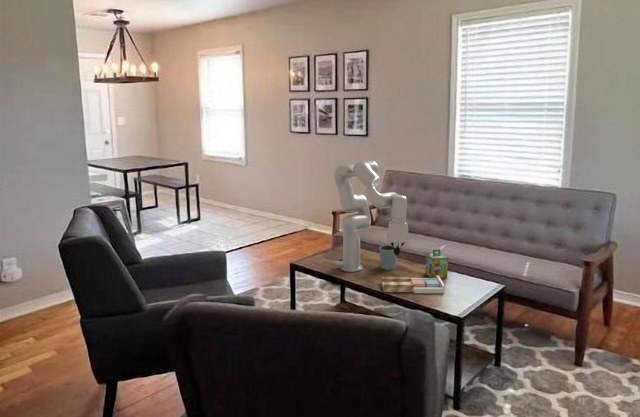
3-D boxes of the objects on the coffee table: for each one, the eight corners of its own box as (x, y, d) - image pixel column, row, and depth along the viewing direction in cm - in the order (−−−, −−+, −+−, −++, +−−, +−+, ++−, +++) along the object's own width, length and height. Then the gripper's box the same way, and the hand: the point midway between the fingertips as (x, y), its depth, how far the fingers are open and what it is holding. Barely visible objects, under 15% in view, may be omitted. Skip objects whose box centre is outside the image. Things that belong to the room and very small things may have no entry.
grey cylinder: (397, 270, 286) (398, 250, 283) (379, 270, 286) (380, 250, 284) (395, 264, 296) (395, 245, 293) (378, 264, 296) (378, 245, 293)
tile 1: (412, 290, 256) (413, 283, 256) (411, 286, 262) (411, 279, 262) (424, 290, 256) (424, 283, 255) (422, 286, 262) (423, 279, 261)
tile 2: (426, 290, 256) (427, 283, 255) (424, 286, 262) (424, 279, 261) (438, 290, 256) (439, 283, 255) (436, 286, 262) (436, 279, 261)
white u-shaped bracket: (414, 293, 252) (414, 285, 251) (409, 282, 267) (409, 275, 266) (444, 293, 252) (444, 285, 251) (438, 282, 266) (438, 275, 265)
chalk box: (432, 279, 271) (433, 253, 268) (424, 274, 280) (425, 248, 277) (447, 277, 273) (449, 251, 270) (439, 272, 282) (440, 247, 279)
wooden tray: (383, 291, 254) (383, 285, 253) (381, 283, 266) (381, 277, 265) (413, 291, 253) (413, 285, 253) (410, 283, 265) (410, 277, 264)
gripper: (384, 221, 249) (382, 256, 253) (414, 222, 248) (412, 257, 253) (382, 217, 256) (381, 252, 260) (412, 218, 256) (410, 252, 260)
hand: (396, 254), depth 256 cm, fingers closed
